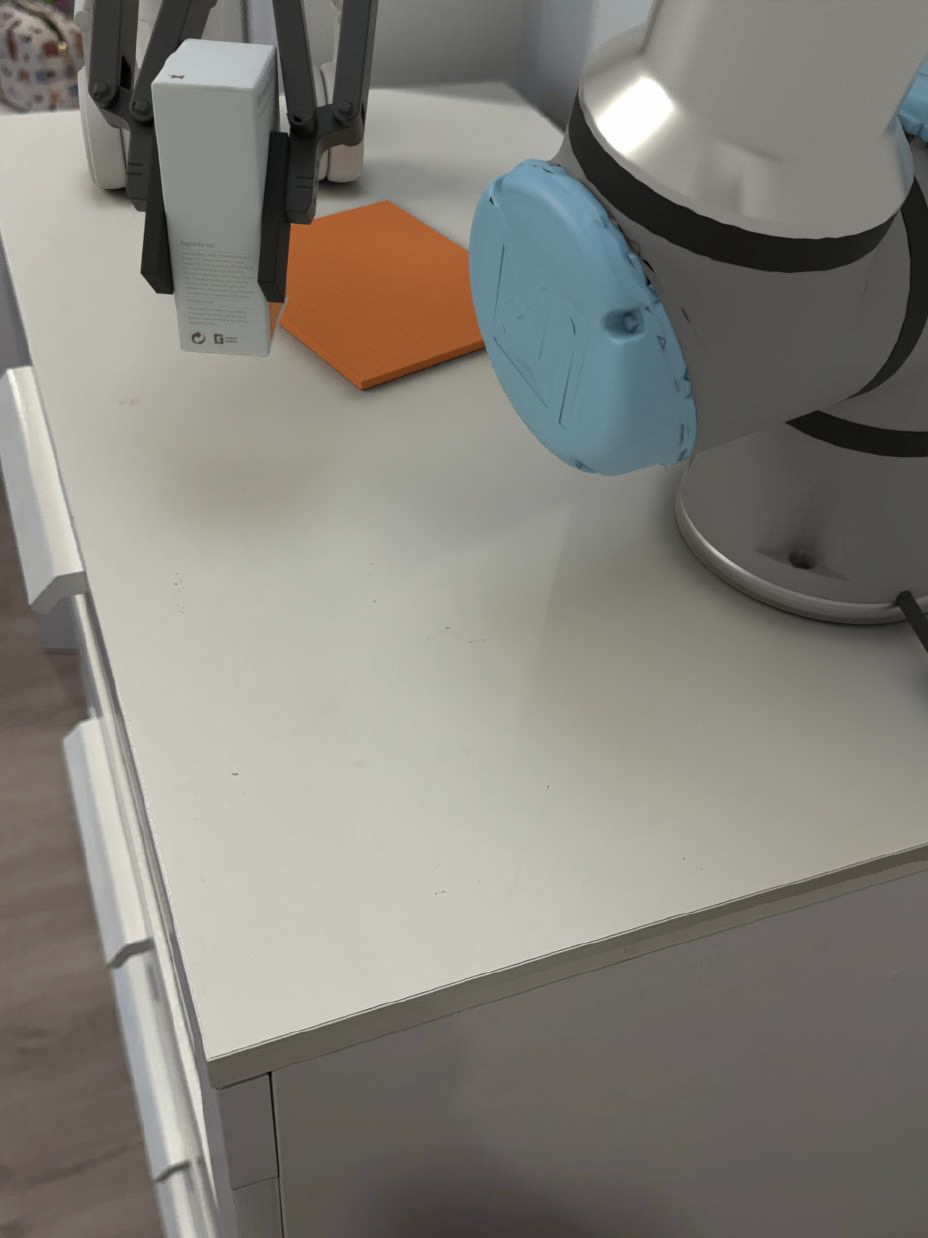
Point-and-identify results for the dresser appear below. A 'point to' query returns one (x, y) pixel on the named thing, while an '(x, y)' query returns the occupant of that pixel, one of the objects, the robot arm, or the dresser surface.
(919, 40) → the robot arm
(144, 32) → the cup
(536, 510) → the dresser surface
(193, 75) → the cosmetic box
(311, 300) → the orange rectangular board
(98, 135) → the headphones
